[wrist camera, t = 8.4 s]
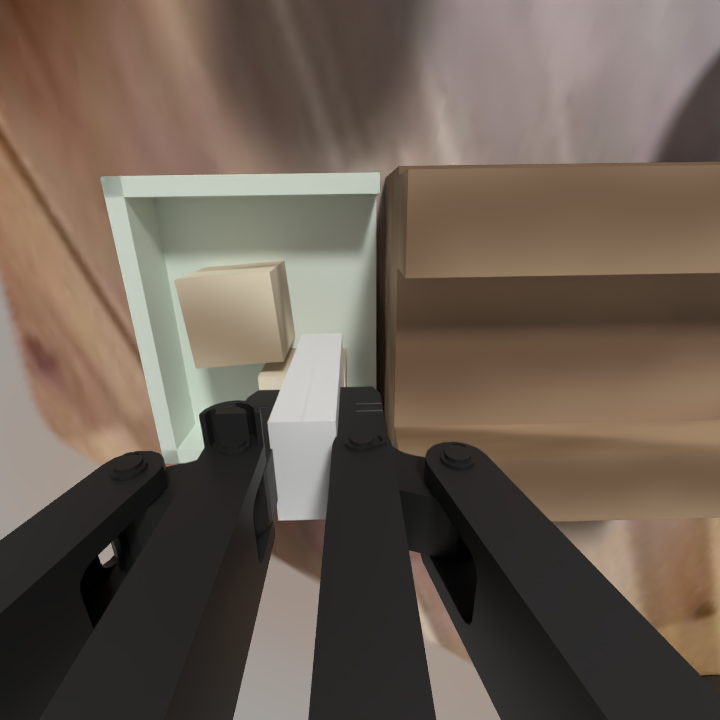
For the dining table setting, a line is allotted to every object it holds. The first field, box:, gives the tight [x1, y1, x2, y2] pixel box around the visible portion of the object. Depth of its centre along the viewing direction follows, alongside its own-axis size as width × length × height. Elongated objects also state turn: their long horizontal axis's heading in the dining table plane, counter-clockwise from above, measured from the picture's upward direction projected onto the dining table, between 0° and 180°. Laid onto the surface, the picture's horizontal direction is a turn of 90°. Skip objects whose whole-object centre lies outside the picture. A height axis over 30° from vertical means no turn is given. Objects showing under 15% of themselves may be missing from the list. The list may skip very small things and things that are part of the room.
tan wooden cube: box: [174, 260, 295, 369], centre depth 19 cm, size 4×4×4 cm
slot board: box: [384, 162, 720, 522], centre depth 18 cm, size 14×17×8 cm
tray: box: [100, 172, 380, 463], centre depth 21 cm, size 14×12×3 cm
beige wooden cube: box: [258, 348, 347, 390], centre depth 21 cm, size 4×4×4 cm
